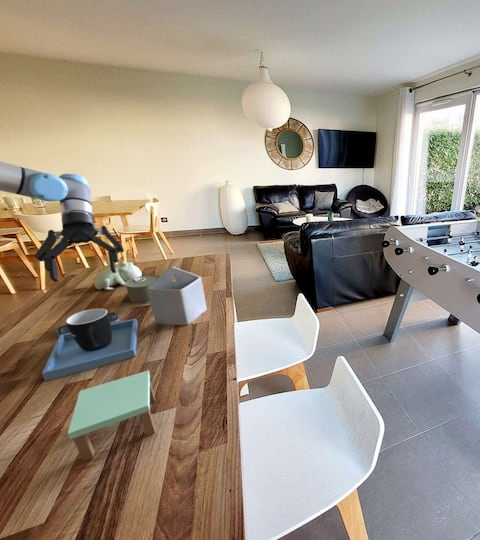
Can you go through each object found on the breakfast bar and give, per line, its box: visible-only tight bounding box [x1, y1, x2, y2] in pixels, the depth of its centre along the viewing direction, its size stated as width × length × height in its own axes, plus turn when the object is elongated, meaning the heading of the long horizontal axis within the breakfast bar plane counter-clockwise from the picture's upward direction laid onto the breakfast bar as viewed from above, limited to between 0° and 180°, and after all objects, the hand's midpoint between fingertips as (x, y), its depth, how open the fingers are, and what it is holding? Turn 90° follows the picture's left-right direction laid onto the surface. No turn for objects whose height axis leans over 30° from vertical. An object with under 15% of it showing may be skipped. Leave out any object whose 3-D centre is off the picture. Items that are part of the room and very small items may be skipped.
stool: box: [67, 370, 156, 462], centre depth 61 cm, size 12×12×8 cm
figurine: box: [94, 259, 143, 291], centre depth 124 cm, size 10×16×10 cm, turn 133°
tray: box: [41, 318, 139, 382], centre depth 85 cm, size 19×20×2 cm
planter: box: [147, 266, 208, 326], centre depth 98 cm, size 16×8×19 cm, turn 131°
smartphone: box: [56, 311, 120, 338], centre depth 96 cm, size 8×1×15 cm
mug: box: [65, 308, 112, 351], centre depth 84 cm, size 12×9×10 cm
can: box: [124, 274, 161, 304], centre depth 116 cm, size 12×12×7 cm
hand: (85, 275), depth 88 cm, fingers open, 13 cm apart
